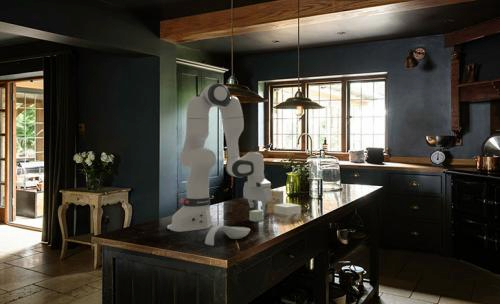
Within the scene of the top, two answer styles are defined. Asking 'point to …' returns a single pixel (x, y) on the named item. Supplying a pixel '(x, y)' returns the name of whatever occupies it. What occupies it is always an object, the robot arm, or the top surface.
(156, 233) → the top surface
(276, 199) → the supplement box
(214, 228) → the white curved spoon
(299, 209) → the tower top
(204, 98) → the robot arm
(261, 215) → the sage cube
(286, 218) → the block
